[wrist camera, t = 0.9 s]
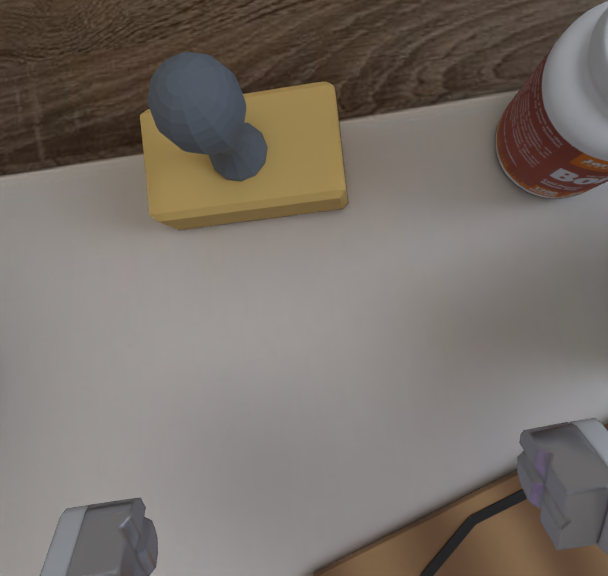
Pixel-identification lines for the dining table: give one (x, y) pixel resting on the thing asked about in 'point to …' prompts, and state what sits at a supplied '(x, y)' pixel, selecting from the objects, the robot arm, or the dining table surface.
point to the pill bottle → (561, 115)
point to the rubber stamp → (237, 147)
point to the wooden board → (474, 542)
